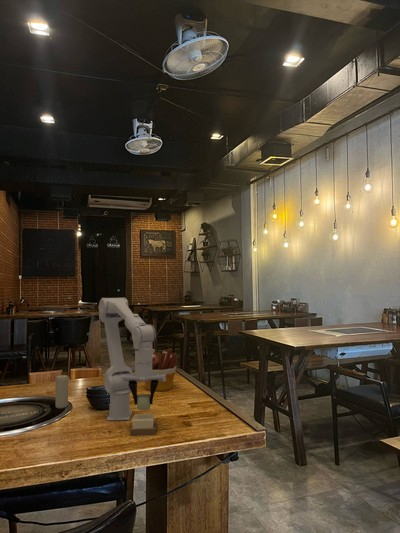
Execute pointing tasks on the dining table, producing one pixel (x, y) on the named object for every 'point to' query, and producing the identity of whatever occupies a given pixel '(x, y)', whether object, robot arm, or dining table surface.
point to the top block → (143, 421)
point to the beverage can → (61, 391)
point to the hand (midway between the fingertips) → (143, 403)
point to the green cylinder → (143, 402)
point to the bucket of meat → (163, 368)
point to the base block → (144, 431)
